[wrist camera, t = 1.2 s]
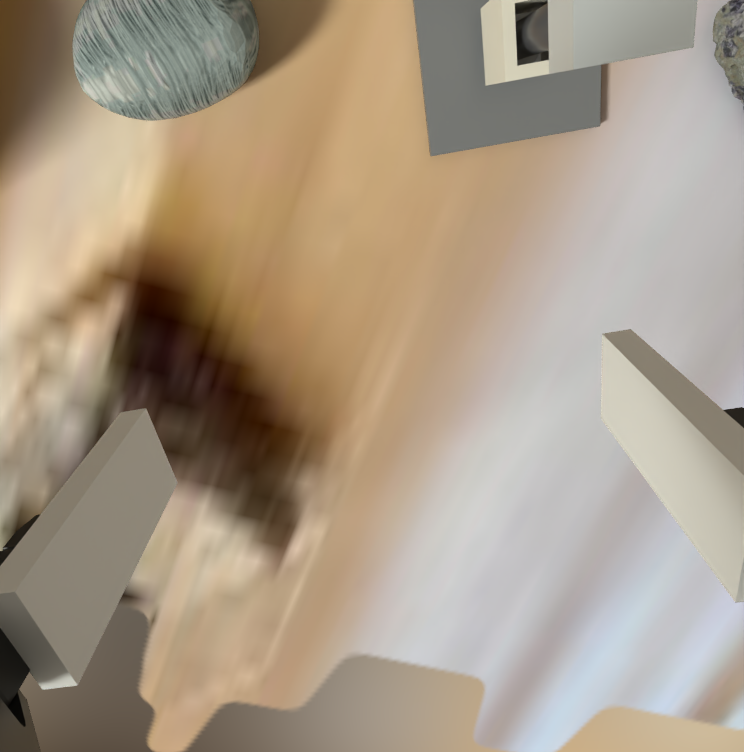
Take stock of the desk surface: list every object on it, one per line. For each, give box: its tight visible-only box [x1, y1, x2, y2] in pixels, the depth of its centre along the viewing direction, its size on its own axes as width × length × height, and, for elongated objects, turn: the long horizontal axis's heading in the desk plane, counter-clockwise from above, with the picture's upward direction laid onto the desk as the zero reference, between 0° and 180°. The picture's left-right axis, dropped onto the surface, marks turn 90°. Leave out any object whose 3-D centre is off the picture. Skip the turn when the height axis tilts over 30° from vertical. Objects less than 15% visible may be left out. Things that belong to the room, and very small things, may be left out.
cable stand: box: [413, 0, 697, 156], centre depth 33 cm, size 14×14×23 cm
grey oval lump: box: [73, 0, 259, 121], centre depth 40 cm, size 14×10×10 cm
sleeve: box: [481, 0, 549, 86], centre depth 37 cm, size 5×5×7 cm
